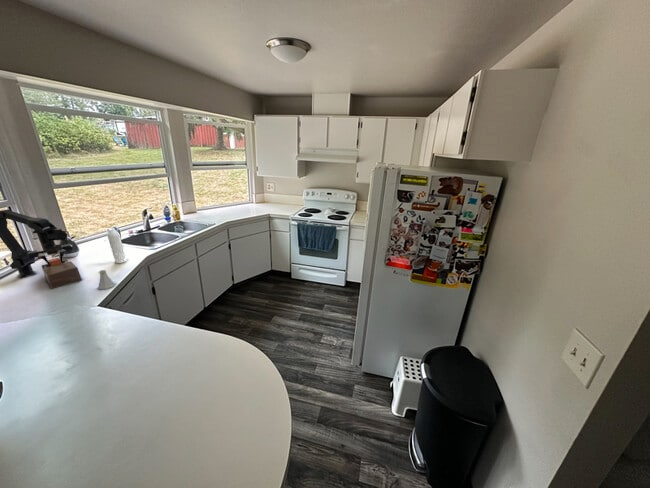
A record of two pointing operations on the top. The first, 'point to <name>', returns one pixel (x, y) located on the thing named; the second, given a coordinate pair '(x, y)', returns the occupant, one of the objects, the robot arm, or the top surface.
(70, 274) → the cabinet
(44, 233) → the robot arm
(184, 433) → the top surface
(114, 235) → the white statue
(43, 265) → the drawer
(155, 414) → the top surface
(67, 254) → the black rounded dome
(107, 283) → the flask
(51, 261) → the block
